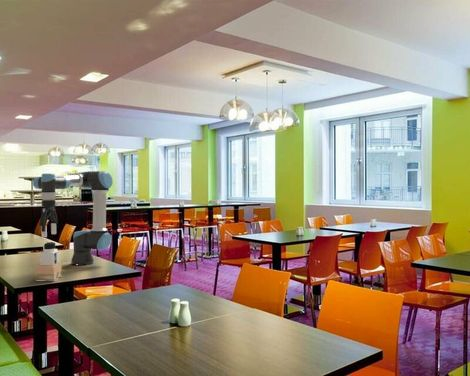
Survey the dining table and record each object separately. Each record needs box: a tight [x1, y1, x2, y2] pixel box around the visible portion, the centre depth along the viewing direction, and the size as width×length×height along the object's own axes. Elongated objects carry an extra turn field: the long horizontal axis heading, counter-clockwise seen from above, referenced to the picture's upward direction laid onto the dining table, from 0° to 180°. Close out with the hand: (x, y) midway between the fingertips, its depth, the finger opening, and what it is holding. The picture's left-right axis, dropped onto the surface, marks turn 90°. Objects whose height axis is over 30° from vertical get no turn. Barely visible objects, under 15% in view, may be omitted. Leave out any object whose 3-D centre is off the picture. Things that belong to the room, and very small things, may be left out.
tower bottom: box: [34, 271, 62, 281], centre depth 260 cm, size 11×11×4 cm
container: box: [39, 241, 60, 266], centre depth 260 cm, size 8×8×13 cm
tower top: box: [34, 262, 62, 275], centre depth 260 cm, size 11×11×4 cm
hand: (49, 235), depth 260 cm, fingers open, 13 cm apart
